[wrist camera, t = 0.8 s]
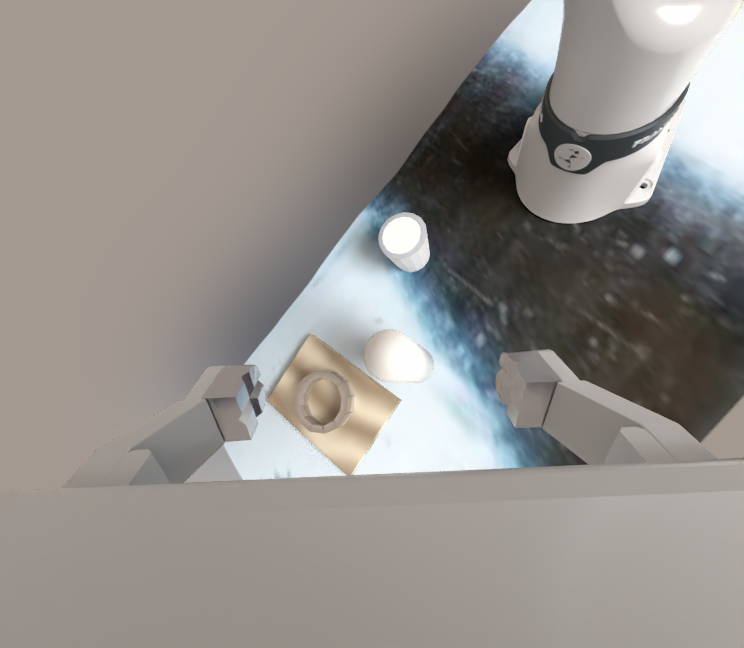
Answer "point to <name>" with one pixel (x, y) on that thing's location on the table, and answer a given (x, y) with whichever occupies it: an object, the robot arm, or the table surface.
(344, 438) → the roll holder
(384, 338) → the paper roll
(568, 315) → the table surface
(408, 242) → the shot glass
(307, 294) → the table surface
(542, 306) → the table surface
